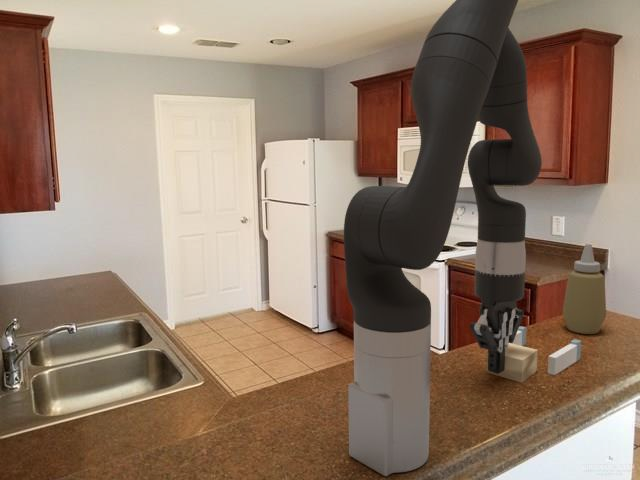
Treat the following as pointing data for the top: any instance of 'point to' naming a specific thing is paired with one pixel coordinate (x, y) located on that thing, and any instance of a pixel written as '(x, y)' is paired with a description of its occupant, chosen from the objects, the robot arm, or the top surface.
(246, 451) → the top surface
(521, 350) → the maple block
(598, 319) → the squeeze bottle
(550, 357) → the corridor
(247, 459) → the top surface
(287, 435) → the top surface
